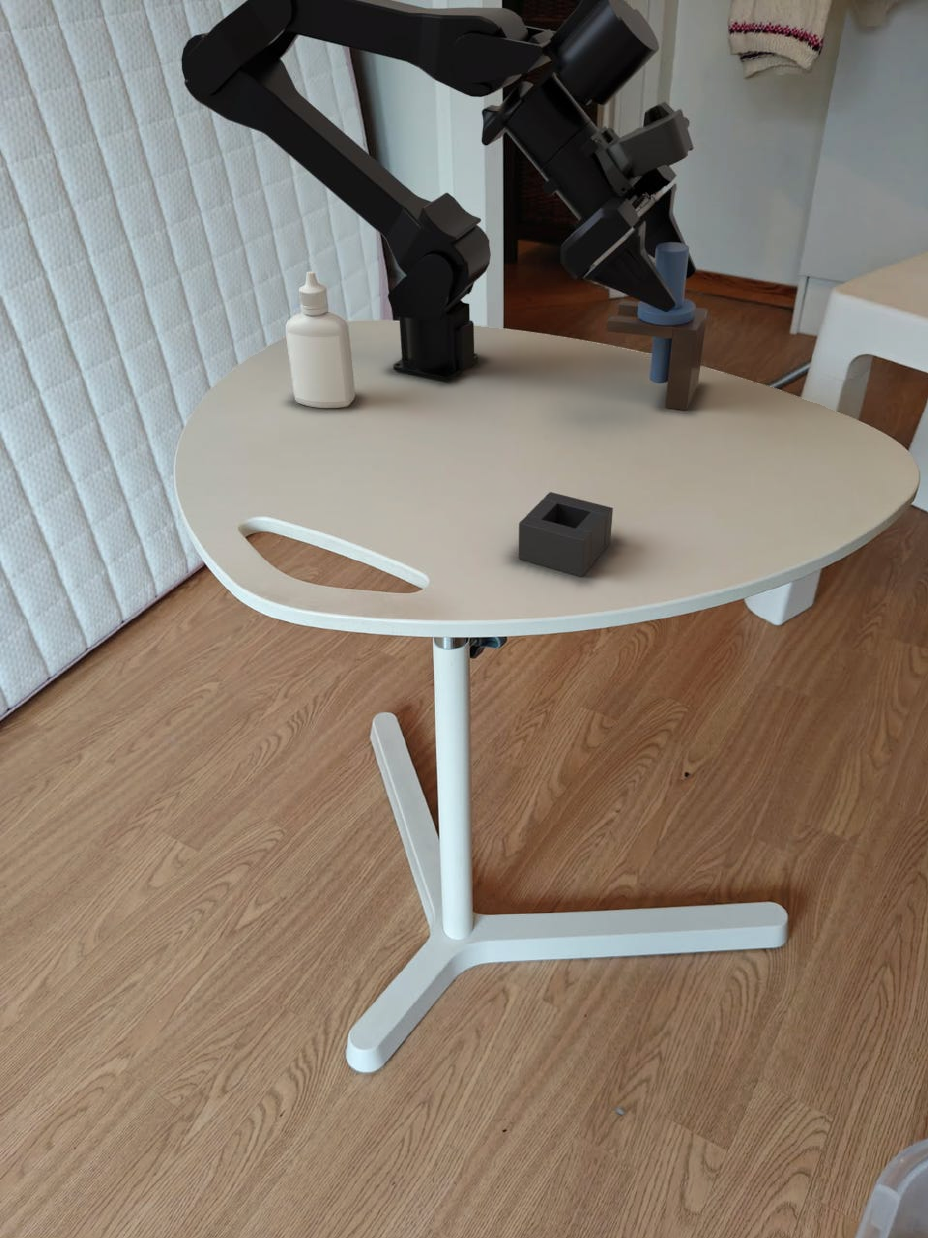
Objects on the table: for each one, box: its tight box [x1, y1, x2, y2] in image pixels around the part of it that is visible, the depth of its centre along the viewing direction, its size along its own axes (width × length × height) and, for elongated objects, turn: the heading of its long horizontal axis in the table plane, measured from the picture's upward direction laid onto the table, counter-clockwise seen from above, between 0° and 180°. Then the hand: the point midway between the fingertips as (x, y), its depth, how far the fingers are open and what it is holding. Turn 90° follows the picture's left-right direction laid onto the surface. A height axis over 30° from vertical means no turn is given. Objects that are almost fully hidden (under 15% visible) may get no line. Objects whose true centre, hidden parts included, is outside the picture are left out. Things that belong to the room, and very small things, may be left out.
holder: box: [518, 491, 614, 578], centre depth 70 cm, size 5×5×3 cm
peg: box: [637, 242, 697, 384], centre depth 87 cm, size 5×5×12 cm
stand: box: [605, 300, 708, 411], centre depth 90 cm, size 8×6×8 cm
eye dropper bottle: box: [285, 270, 356, 409], centre depth 89 cm, size 4×6×12 cm
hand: (682, 290), depth 86 cm, fingers open, 9 cm apart
